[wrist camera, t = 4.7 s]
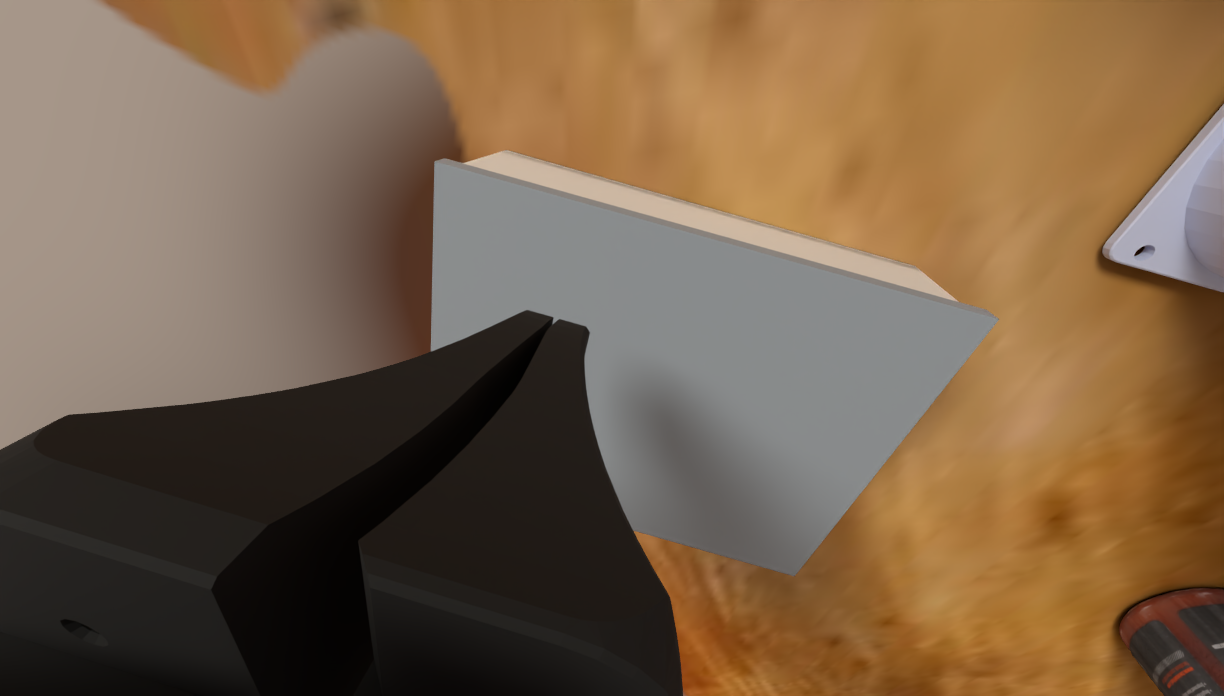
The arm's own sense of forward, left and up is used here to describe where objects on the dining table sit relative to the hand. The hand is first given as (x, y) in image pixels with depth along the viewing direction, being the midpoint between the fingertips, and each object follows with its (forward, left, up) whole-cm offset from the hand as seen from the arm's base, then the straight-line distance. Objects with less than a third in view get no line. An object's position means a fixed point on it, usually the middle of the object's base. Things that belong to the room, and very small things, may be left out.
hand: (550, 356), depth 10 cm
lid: (-3, +4, -5) cm, 7 cm away
